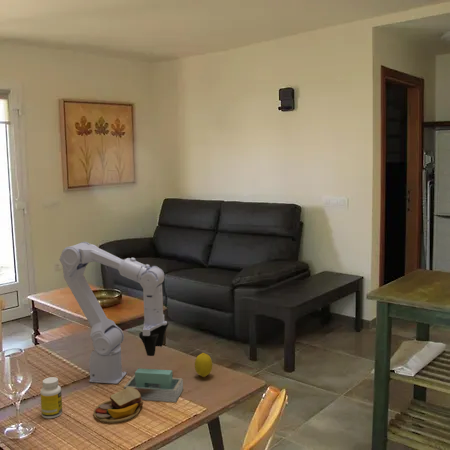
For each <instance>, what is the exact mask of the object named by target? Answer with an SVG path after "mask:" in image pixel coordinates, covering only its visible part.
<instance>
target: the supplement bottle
mask: <svg viewBox="0 0 450 450" xmlns="http://www.w3.org/2000/svg"><path fill="white" fill-rule="evenodd" d="M39 394H40V409H41V417H43V419H54V418H57V417H59V416H61V415H62V413H63V400H62V399H63V398H62V397H63V396H62V387H61V385H59V379H58V377H55V376H54V377H53V376H50V377H46V378H44V379H43V380H42V388H40V393H39Z"/></svg>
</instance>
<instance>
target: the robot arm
mask: <svg viewBox="0 0 450 450" xmlns="http://www.w3.org/2000/svg"><path fill="white" fill-rule="evenodd" d="M58 260H59V262H60V263H61V265H62V274H63V278H64V280H65V282H66V285H68V288H69V290H70V291H71V293H72V295H73V297H74V298H75V300H76V302H77V304H78V306H79V307H80V310H81V311H82V313H83V314H84V317H85V318H86V320H87V322H88V324H89V326H90V327H91V330H90V333H89V334H90V335H89V337H90V338H91V341H92V347H93V350H92V351H91V353H90V355H89V361H88V363H89V380H88V382H89V383H97V384H113V385H117V384H119V383H120V382H121V381H122V379H123V378H124V377H125V376H126V375H127V372H126V371H123V370H122V369H123V367H122V366H123V365H122V348H121V347H122V345H121V344H122V343H123V342H124V339H125V334H124V332H123V330H122V329H121V328H120V326H118V325H116V323H115V321H114V320H112V319H110V318H108V317H107V315H106V314H105V312H104V310H103V308H102V306H101V304H100V302H99V300H98V299H97V297H96V295H95V294H94V292H93V290H92V288H91V286H90V285H89V282H88V281H87V279H86V278H85V276H84V274H85V271H86V269H87V268H86V267H87V266H88V264H89V263H93V262H95V263H98V264H101V265H104V266H107V267H109V268H112V269H116V270H118V273H119V274H120V276H122V277H124V278H127V279H129V280H132V281H133V282H135V283H139V284H140V286H141V288H142V289H143V290H142V291H143V293H142V295H143V318H144V320H143V329H142V331H140V332H139V335H138V336H139V338H140V340H141V341H142V343H143V346H144V349H145V353H146V356H147V357H155V355H156V347H161V348H162V347H163V345H164V339H165V334H166V331H167V328H168V326H169V322H168V321H166V319H165V314H164V304H163V303H164V302H163V301H164V300H163V297H164V296H163V284H162V283H163V282H164V281H165V273H164V270H163V269H162V268H160V267H158V266H157V265H152V266H150V264H148V263H146V264H144V263H141V262H139V261H137V260H136V258H135V257H131V258H130V257H127V258H124V259H123V258H120V257H118V256H117V255H114V254H112V253H110V252H108V251H106V250H104V249H101V248H100V247H98V246H97V245H96V244H92V243H89V242H88V241H81V242H79V243H77V244H73V245H71V246H69V245H68V246H66V247H65V248H63V249H62V251H61V255H60V257H59V259H58Z"/></svg>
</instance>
